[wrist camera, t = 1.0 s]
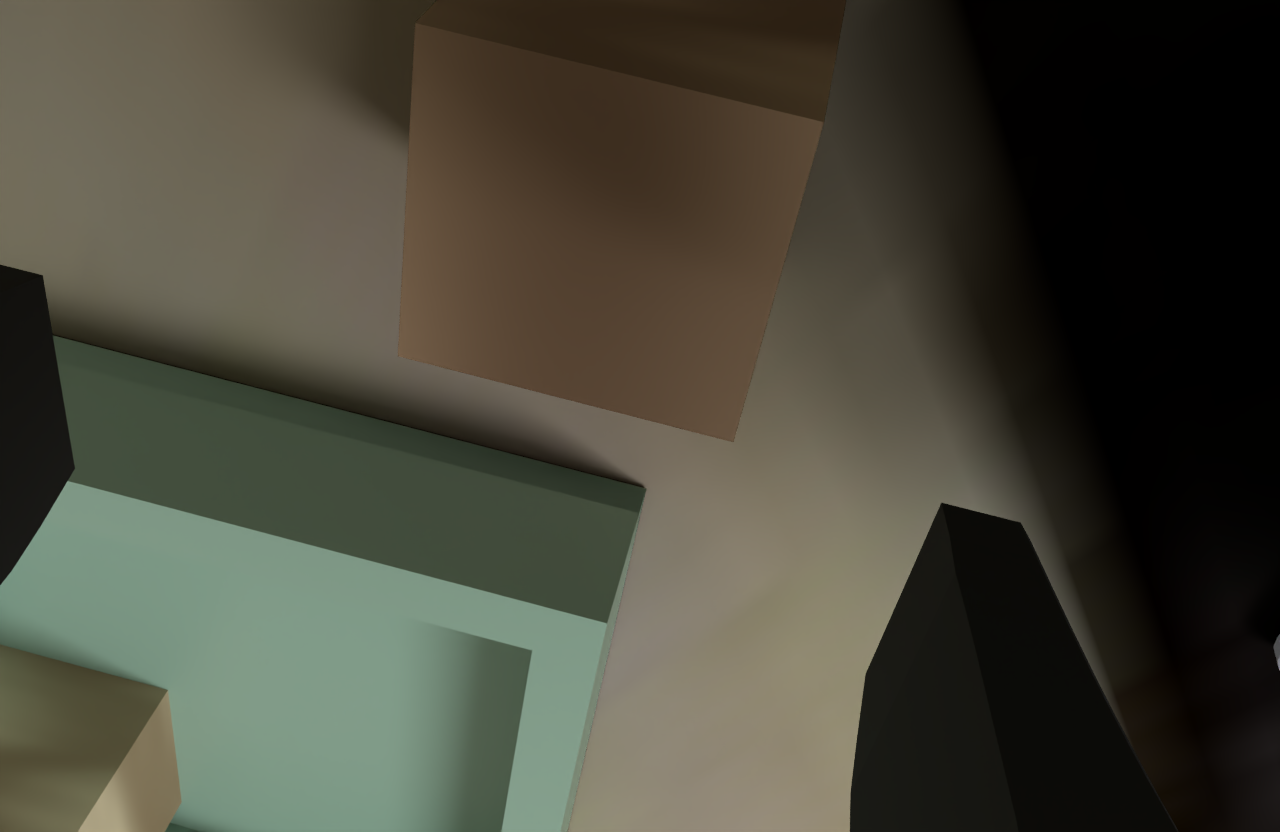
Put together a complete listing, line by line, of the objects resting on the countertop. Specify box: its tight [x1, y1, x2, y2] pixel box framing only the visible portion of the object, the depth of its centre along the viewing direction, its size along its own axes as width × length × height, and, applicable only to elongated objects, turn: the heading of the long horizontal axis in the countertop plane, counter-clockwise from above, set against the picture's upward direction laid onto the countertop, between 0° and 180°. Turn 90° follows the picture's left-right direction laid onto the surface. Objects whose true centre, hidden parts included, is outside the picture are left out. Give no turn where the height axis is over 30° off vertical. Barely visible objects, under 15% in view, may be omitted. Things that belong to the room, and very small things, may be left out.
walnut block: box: [398, 0, 846, 442], centre depth 14 cm, size 4×4×4 cm
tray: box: [0, 336, 646, 832], centre depth 23 cm, size 14×14×3 cm
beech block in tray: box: [0, 645, 182, 832], centre depth 25 cm, size 4×4×4 cm
